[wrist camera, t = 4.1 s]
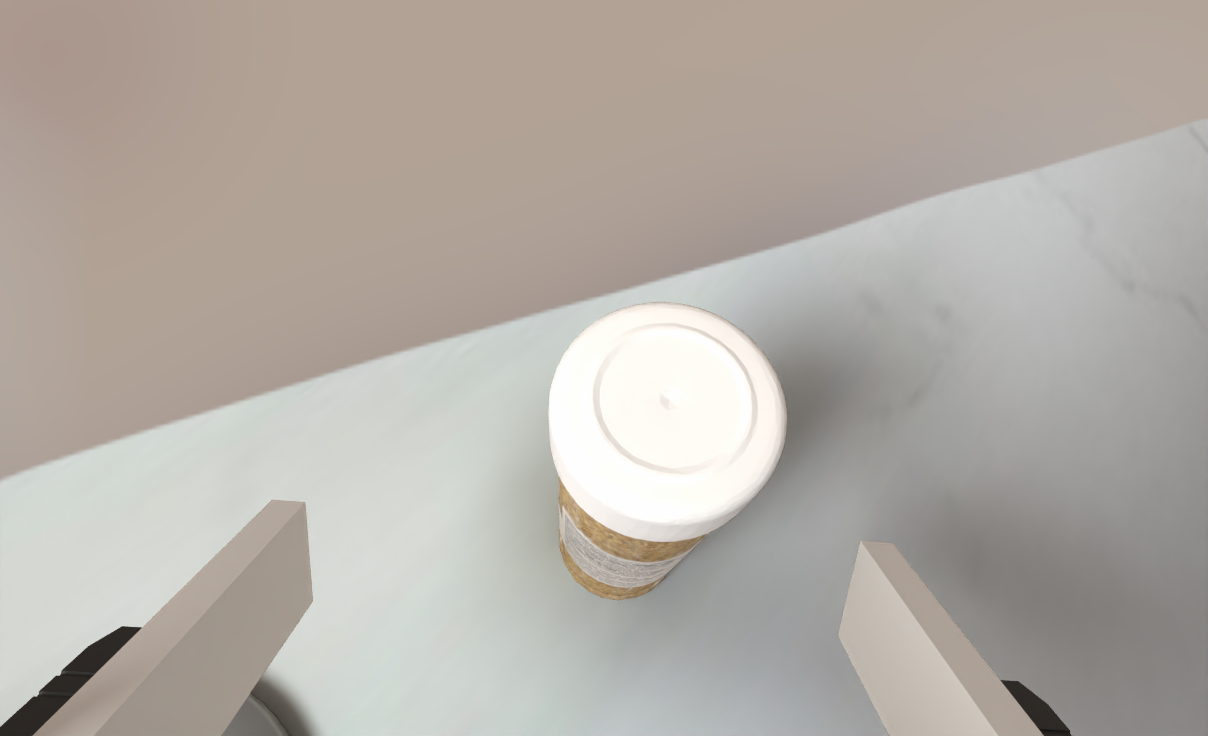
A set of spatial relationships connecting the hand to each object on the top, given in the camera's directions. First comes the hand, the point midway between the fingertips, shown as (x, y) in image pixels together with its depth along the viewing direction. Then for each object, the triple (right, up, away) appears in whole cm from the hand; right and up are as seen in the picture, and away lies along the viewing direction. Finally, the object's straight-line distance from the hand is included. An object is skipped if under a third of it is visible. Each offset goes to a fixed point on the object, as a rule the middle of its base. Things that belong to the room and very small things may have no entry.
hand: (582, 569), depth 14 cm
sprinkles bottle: (+1, -2, +9) cm, 9 cm away
